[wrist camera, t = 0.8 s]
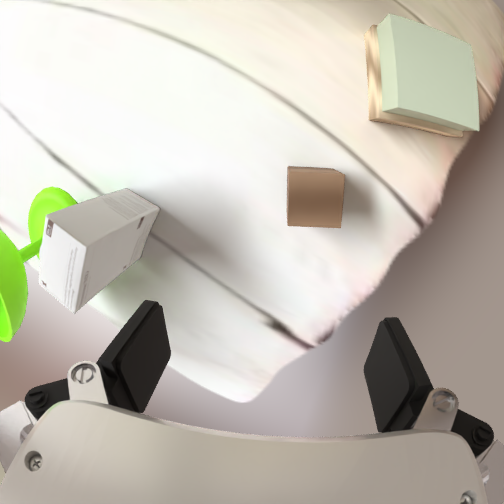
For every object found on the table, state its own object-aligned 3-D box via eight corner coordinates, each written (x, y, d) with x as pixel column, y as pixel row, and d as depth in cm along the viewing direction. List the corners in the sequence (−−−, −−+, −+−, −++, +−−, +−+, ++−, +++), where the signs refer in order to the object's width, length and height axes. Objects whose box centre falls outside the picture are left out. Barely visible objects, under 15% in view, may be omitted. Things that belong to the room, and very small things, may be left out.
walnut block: (287, 166, 28) (289, 171, 23) (332, 168, 28) (344, 174, 22) (286, 210, 30) (287, 226, 25) (330, 212, 30) (340, 228, 24)
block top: (376, 27, 18) (389, 13, 14) (452, 52, 17) (471, 44, 13) (382, 111, 22) (398, 107, 18) (458, 130, 21) (479, 131, 17)
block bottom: (362, 36, 21) (372, 24, 18) (440, 57, 20) (455, 51, 17) (367, 120, 26) (379, 117, 22) (444, 136, 24) (462, 137, 21)
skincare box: (141, 257, 35) (77, 320, 21) (107, 236, 34) (36, 287, 20) (162, 204, 31) (88, 250, 18) (124, 182, 31) (40, 215, 17)
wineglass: (24, 189, 33) (-55, 223, 16) (85, 184, 31) (-18, 226, 15) (40, 273, 39) (-23, 323, 22) (100, 286, 38) (29, 358, 21)
